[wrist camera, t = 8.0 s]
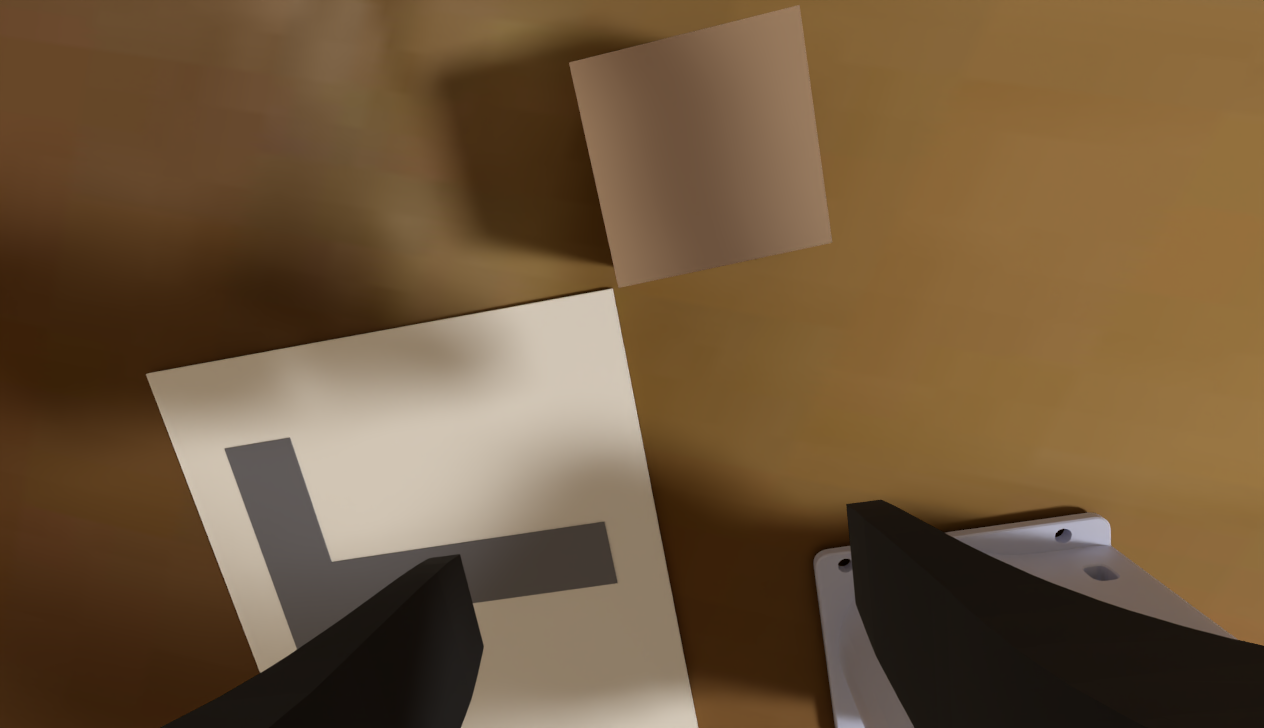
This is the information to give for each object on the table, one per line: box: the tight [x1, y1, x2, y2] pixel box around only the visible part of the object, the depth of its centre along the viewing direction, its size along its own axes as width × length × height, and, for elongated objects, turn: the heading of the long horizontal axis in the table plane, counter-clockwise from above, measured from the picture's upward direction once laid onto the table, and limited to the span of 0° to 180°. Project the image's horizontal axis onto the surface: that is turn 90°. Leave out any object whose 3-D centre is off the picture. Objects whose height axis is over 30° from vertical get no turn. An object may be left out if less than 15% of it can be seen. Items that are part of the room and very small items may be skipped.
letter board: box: [146, 288, 698, 728], centre depth 22 cm, size 16×18×1 cm
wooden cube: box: [569, 5, 832, 288], centre depth 16 cm, size 5×5×5 cm
